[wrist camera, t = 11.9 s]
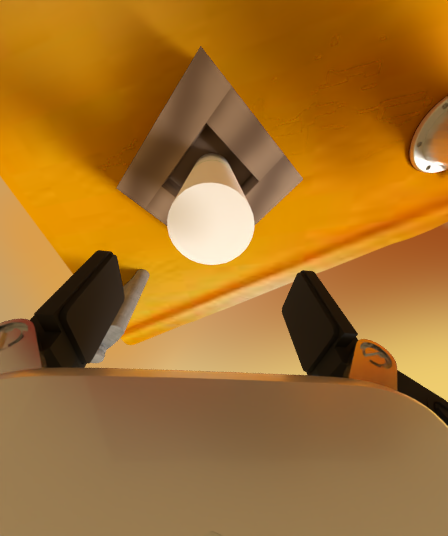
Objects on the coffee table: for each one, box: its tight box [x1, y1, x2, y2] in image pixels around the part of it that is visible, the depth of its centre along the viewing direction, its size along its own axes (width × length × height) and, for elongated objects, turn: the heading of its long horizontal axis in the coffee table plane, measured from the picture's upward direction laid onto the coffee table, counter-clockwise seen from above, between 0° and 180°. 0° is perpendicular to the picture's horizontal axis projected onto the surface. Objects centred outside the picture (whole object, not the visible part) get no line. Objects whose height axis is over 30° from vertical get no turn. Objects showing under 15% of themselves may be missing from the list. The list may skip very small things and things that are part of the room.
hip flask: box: [90, 269, 149, 363], centre depth 44 cm, size 16×4×20 cm, turn 129°
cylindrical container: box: [167, 153, 254, 265], centre depth 26 cm, size 7×7×25 cm
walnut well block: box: [117, 46, 303, 225], centre depth 34 cm, size 21×21×8 cm
